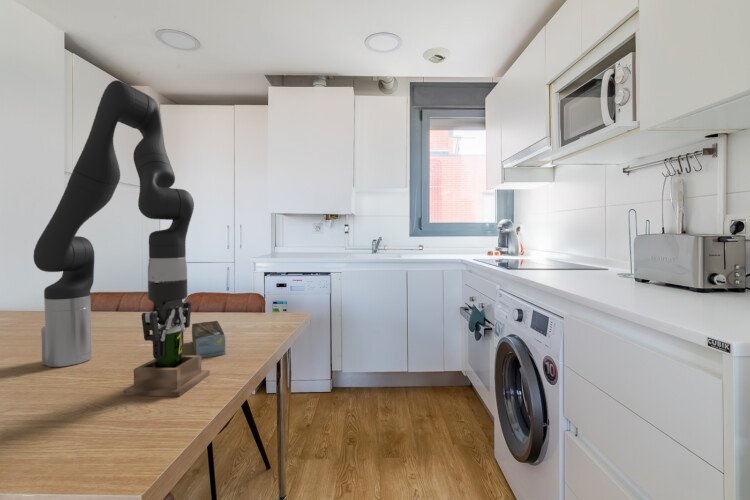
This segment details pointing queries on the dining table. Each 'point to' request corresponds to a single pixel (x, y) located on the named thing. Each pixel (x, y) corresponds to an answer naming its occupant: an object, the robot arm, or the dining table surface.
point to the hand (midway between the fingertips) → (169, 353)
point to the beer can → (171, 348)
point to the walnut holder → (167, 378)
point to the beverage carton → (208, 339)
